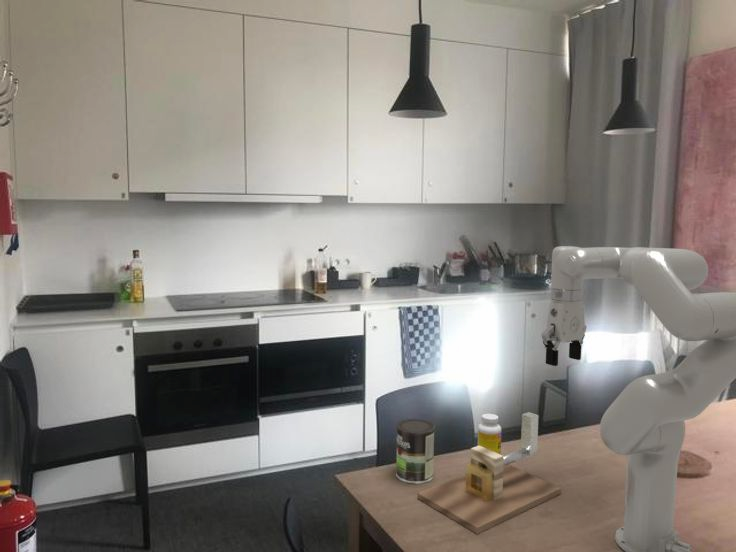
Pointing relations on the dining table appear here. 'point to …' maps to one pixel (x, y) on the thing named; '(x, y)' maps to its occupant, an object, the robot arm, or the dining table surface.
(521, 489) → the bearing stand
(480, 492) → the frame
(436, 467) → the dining table surface
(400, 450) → the coffee can
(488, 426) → the supplement bottle
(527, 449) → the crank handle
